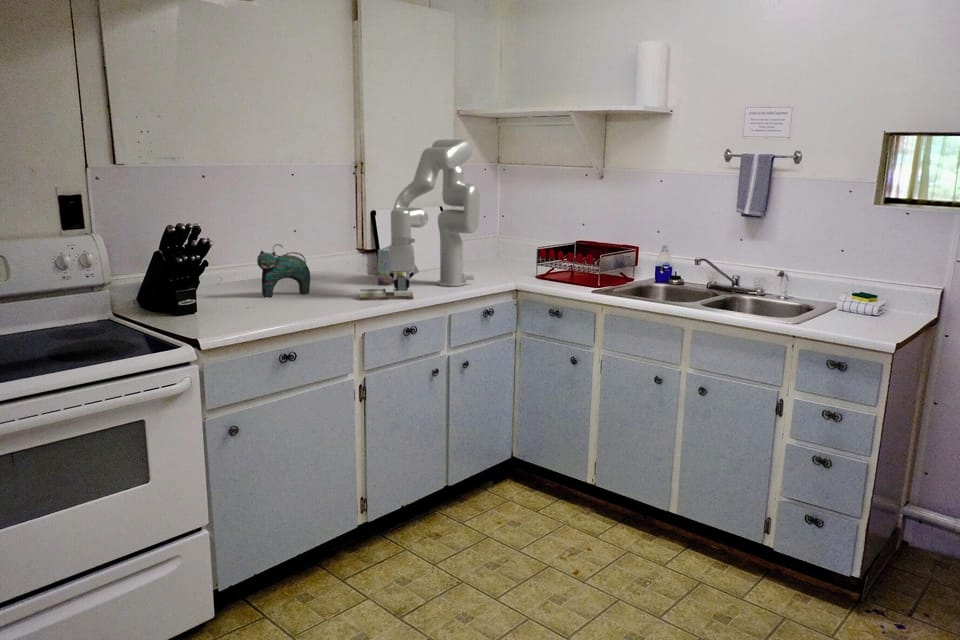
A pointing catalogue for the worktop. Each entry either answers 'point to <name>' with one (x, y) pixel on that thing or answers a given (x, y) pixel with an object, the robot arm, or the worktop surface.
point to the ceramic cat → (283, 271)
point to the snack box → (382, 264)
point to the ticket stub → (401, 287)
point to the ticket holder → (380, 295)
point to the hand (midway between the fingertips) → (401, 289)
